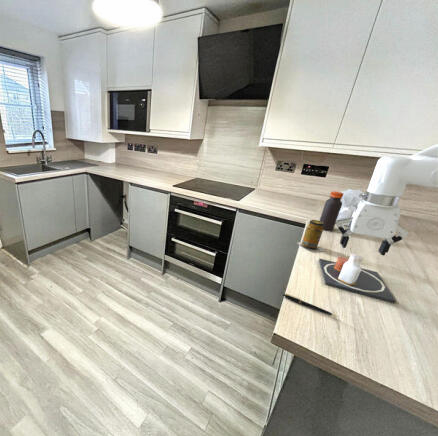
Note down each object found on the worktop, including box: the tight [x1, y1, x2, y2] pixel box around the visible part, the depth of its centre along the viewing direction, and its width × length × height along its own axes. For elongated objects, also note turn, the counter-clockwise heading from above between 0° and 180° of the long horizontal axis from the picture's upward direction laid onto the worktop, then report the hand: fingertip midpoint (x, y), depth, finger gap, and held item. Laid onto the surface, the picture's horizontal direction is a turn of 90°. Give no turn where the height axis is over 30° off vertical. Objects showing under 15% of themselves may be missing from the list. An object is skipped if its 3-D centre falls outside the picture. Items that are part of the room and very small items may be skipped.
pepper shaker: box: [339, 253, 364, 284], centre depth 79 cm, size 4×4×10 cm
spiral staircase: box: [336, 188, 364, 227], centre depth 135 cm, size 18×18×25 cm
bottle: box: [319, 190, 343, 232], centre depth 123 cm, size 7×7×20 cm
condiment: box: [297, 219, 326, 253], centre depth 103 cm, size 7×8×12 cm
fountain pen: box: [281, 293, 339, 318], centre depth 69 cm, size 14×1×2 cm, turn 51°
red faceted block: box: [334, 256, 349, 271], centre depth 87 cm, size 4×4×4 cm
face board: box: [318, 257, 397, 304], centre depth 83 cm, size 18×18×1 cm
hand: (361, 249), depth 76 cm, fingers open, 9 cm apart
